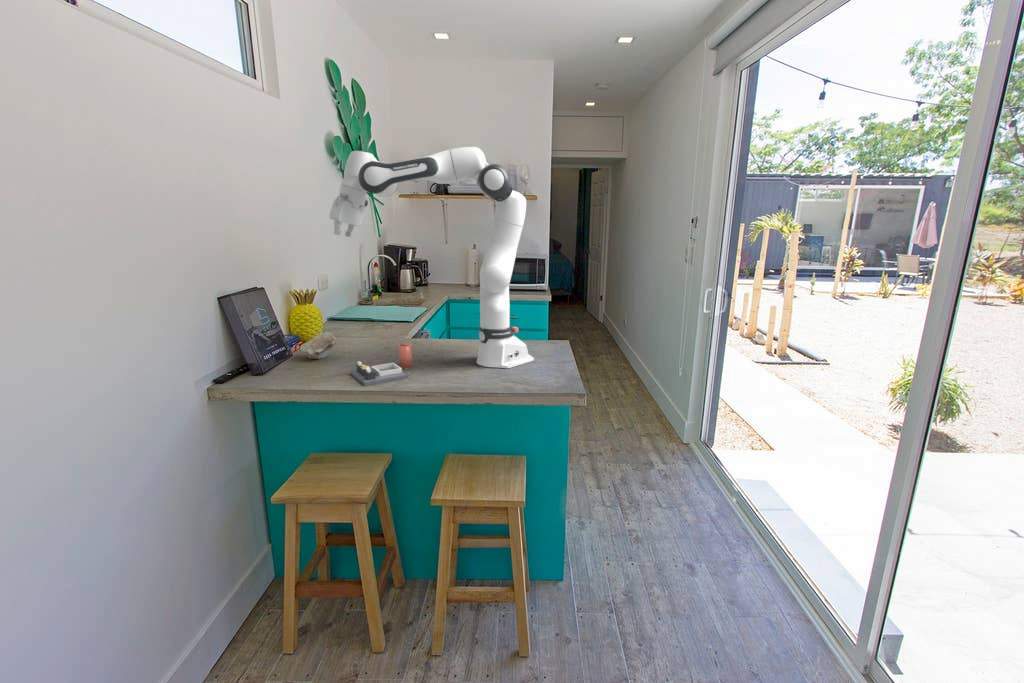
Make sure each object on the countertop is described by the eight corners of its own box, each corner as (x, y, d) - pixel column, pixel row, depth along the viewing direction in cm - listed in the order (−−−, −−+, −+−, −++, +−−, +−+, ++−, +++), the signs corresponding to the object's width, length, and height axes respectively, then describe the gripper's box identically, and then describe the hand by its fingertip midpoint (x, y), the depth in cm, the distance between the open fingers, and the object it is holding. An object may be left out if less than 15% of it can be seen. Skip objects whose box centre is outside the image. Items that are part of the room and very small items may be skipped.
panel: (391, 367, 187) (390, 354, 186) (407, 377, 175) (406, 365, 174) (350, 374, 179) (349, 361, 177) (364, 385, 167) (363, 372, 165)
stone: (326, 364, 190) (324, 338, 188) (294, 361, 194) (291, 335, 191) (342, 356, 200) (340, 332, 198) (311, 353, 204) (309, 329, 201)
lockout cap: (409, 364, 190) (408, 341, 188) (414, 367, 186) (413, 344, 184) (397, 366, 187) (396, 343, 185) (402, 369, 184) (401, 345, 181)
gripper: (348, 195, 166) (338, 236, 169) (370, 203, 187) (361, 240, 189) (330, 189, 167) (320, 230, 169) (354, 198, 187) (345, 235, 189)
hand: (342, 235), depth 179 cm, fingers open, 8 cm apart
